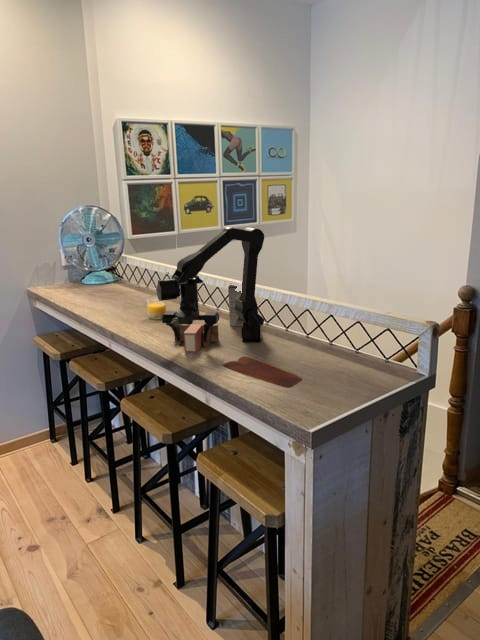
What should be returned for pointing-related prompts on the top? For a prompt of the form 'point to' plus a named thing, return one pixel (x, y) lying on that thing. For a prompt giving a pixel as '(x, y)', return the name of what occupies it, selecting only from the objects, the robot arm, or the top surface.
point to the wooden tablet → (264, 371)
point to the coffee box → (233, 295)
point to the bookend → (182, 342)
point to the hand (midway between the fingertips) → (192, 341)
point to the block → (193, 338)
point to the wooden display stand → (212, 335)
